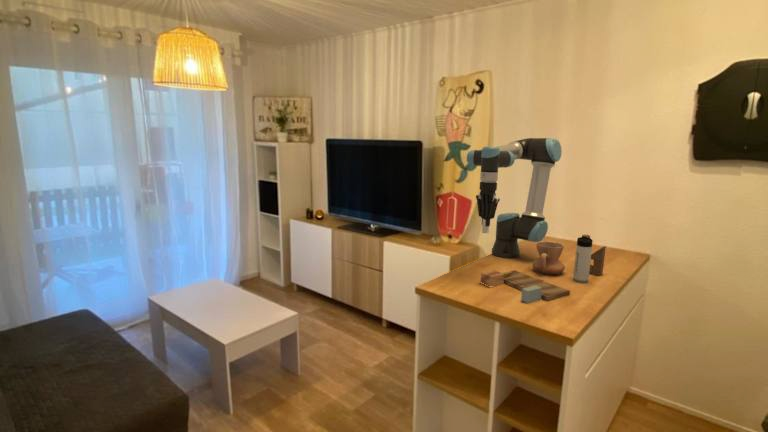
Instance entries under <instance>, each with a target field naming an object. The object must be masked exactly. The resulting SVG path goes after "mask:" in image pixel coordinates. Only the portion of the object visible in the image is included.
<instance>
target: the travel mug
mask: <svg viewBox="0 0 768 432" xmlns="http://www.w3.org/2000/svg"><path fill="white" fill-rule="evenodd" d="M593 242H594V241H593V239H592V238H591V237H590V238H586V237H583V236H582V235H581V236H580V237H577V241H576V249H575V260H574V267H573V268H574V269H573V276H572V279H573V281H574V282H576V283H580V284H583V283H584V284H586V283H588V282H589V279H590V277H589V276H590V273H589V270H590V265H591V260H592V259H591V254H592V251H593V250H592V249H593Z"/></svg>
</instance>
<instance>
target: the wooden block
mask: <svg viewBox="0 0 768 432" xmlns="http://www.w3.org/2000/svg"><path fill="white" fill-rule="evenodd" d="M582 236H583V237H586V238H590V239H591V235H589V234H582V235H581V237H582ZM606 247H607V246H606V245H604V246H603V247H601V248H599V249H598V250H596V251H595V252H593V253H591V260H592V261H593V262H592V263H593V264H590V270H589V275H594V276H599V277H601V276H602V275H603V274H604V273H603V272H604V265H605V264H604V263H605V256H606Z"/></svg>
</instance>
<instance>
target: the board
mask: <svg viewBox="0 0 768 432" xmlns="http://www.w3.org/2000/svg"><path fill="white" fill-rule="evenodd" d="M510 271H511V272H513V274H512V275H509V276H505V277H504V283H505V284H504V285H507V284H508V286H509V285H510V287H512V288H515V289H516V290H519V291H521V292H522V289H523V288H527V287H531V286H535V285H536V286H539V287H541V288H542V294H541V300H542V301H545V302H550V301H553V300H557V299H560V298H564V297H567V296H570V294H571V290H568V289H566V288H563V287H560V286H558V285H556V284H553V283H550V282H547V281H544V280H543V279H539V278H536V277H534V276H531V275H528V274H525V273H523V272H520V271H517V270H510ZM505 272H506V271H505ZM505 272H503V273H505Z"/></svg>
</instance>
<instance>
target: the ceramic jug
mask: <svg viewBox="0 0 768 432" xmlns="http://www.w3.org/2000/svg"><path fill="white" fill-rule="evenodd" d="M535 243H536V245H535V246H536V251H537V253H538V256H539V257H538V258H537V259H535V260H534V261H533V262H532V268H533V269H534V270H535V271H536V272H537V273H541V274H544V275H550V276H551V275H554V276H555V275H559V274H562V273H563V272H564V271H565V270H566V269H565V266H566V265H565V264H564V263H563V262H562V261H561V260H559V258H560V257H561V255H562V253H563V251H564V247H565V246H564V244H563V243H561V242H558V241H557V242H556V241H553V240H541V241H540V242H535Z"/></svg>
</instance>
